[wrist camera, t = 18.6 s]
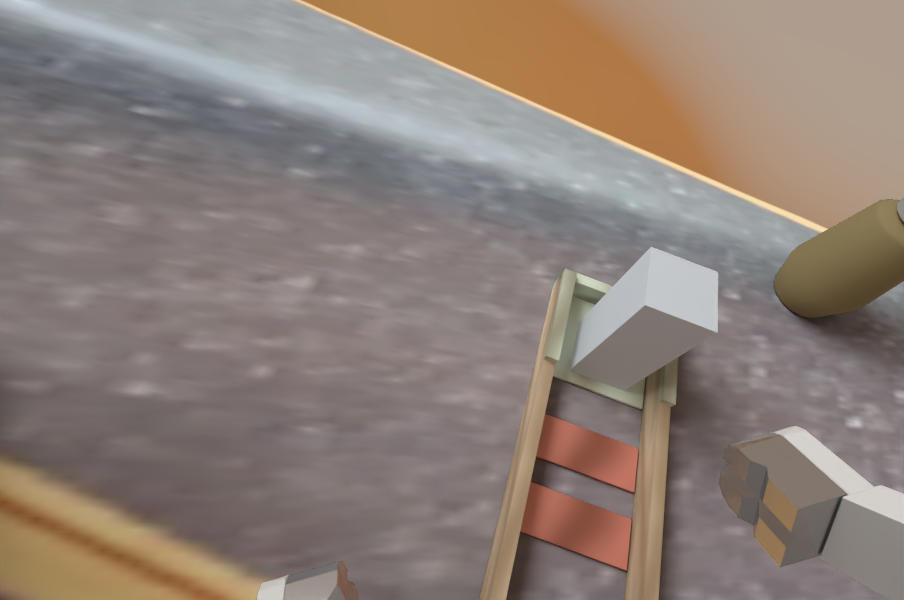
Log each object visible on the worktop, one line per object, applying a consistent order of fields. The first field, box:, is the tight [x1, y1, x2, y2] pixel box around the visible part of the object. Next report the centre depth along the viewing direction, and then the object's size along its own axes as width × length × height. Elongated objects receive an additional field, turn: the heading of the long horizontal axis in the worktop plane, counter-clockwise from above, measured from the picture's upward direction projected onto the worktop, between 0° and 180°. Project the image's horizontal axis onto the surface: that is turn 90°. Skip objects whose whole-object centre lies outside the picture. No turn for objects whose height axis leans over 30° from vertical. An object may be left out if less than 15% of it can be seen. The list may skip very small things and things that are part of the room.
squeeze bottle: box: [774, 198, 904, 318], centre depth 43 cm, size 8×8×18 cm
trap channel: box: [479, 268, 678, 600], centre depth 36 cm, size 11×32×3 cm, turn 162°
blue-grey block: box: [569, 247, 718, 391], centre depth 37 cm, size 5×5×12 cm
